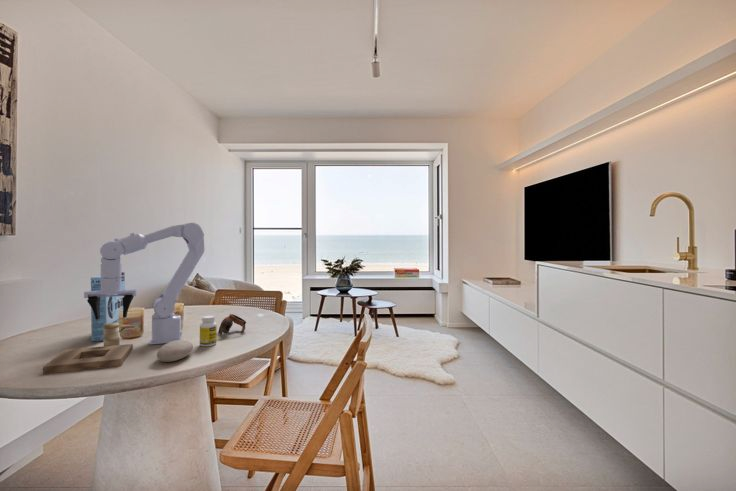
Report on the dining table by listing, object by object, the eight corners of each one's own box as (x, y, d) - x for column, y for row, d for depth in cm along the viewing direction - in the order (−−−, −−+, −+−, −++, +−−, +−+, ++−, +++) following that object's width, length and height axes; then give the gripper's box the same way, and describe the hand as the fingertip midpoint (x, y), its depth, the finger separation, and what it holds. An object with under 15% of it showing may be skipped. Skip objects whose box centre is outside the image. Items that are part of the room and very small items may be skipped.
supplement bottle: (210, 347, 125) (210, 318, 125) (196, 346, 126) (196, 318, 126) (219, 342, 130) (219, 315, 130) (206, 341, 132) (206, 314, 131)
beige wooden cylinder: (120, 345, 126) (120, 322, 126) (117, 349, 122) (117, 325, 122) (105, 346, 125) (105, 323, 124) (101, 350, 121) (101, 326, 120)
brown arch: (221, 331, 149) (232, 312, 150) (241, 342, 148) (252, 323, 149) (208, 330, 137) (221, 310, 139) (230, 343, 136) (242, 322, 138)
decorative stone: (179, 366, 107) (179, 349, 107) (148, 365, 108) (148, 348, 107) (199, 352, 120) (199, 337, 120) (172, 351, 120) (172, 336, 120)
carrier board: (132, 349, 122) (132, 343, 121) (120, 365, 107) (120, 359, 107) (65, 355, 115) (65, 349, 115) (42, 373, 100) (42, 366, 100)
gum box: (106, 341, 131) (106, 277, 131) (89, 342, 130) (89, 277, 129) (126, 327, 150) (125, 271, 149) (111, 328, 149) (111, 272, 148)
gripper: (138, 275, 129) (138, 314, 130) (88, 277, 124) (89, 317, 124) (134, 278, 123) (134, 318, 123) (81, 279, 117) (81, 321, 118)
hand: (111, 318), depth 123 cm, fingers open, 7 cm apart
